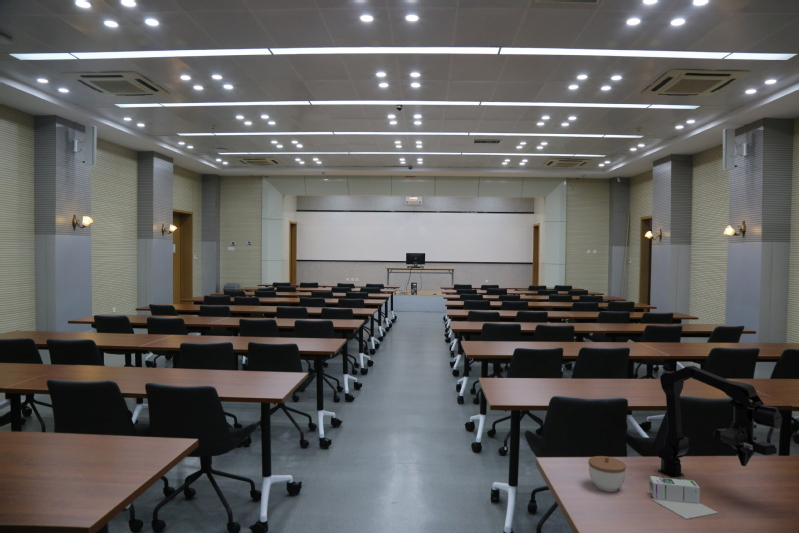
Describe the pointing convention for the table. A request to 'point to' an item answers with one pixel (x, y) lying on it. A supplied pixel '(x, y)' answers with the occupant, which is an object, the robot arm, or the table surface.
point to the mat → (685, 508)
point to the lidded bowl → (607, 473)
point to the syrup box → (674, 489)
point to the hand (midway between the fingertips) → (743, 465)
